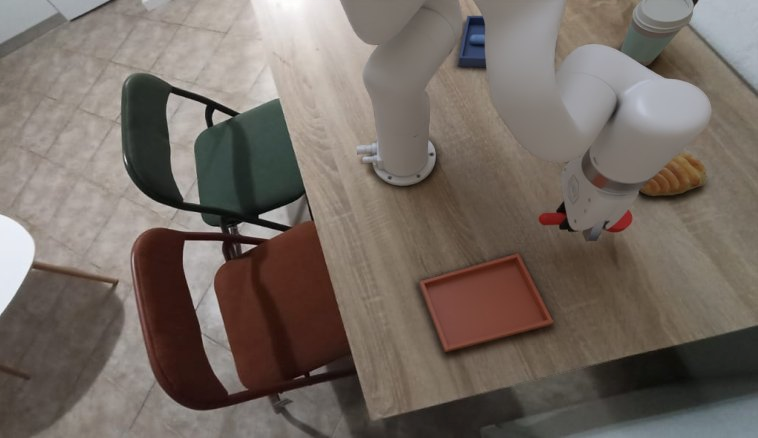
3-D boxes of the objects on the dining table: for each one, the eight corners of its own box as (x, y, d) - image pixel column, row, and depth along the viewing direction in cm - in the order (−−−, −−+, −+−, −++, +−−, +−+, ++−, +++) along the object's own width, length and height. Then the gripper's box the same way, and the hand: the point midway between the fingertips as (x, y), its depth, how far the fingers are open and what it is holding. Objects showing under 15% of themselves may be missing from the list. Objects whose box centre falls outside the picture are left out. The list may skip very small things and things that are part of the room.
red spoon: (538, 234, 72) (542, 229, 70) (535, 209, 73) (538, 204, 71) (630, 232, 68) (637, 227, 67) (624, 207, 70) (630, 201, 68)
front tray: (444, 352, 74) (445, 350, 72) (419, 284, 79) (419, 281, 77) (549, 325, 71) (553, 322, 69) (515, 257, 77) (518, 252, 75)
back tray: (457, 66, 96) (458, 57, 94) (466, 24, 100) (467, 15, 98) (546, 69, 90) (549, 60, 88) (551, 25, 94) (554, 15, 92)
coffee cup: (669, 68, 84) (706, 18, 73) (617, 76, 86) (646, 28, 75) (654, 35, 87) (687, -17, 77) (605, 44, 89) (630, -7, 79)
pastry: (650, 207, 75) (661, 197, 71) (623, 176, 78) (632, 165, 75) (705, 185, 74) (719, 174, 70) (676, 155, 77) (687, 143, 74)
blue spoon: (467, 50, 97) (468, 43, 95) (470, 35, 98) (471, 28, 97) (532, 52, 92) (535, 45, 91) (534, 36, 94) (537, 29, 92)
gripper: (573, 113, 59) (535, 178, 75) (596, 222, 53) (550, 267, 69) (638, 108, 57) (585, 176, 73) (671, 221, 51) (604, 267, 67)
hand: (568, 220), depth 71 cm, fingers closed on red spoon, 2 cm apart
